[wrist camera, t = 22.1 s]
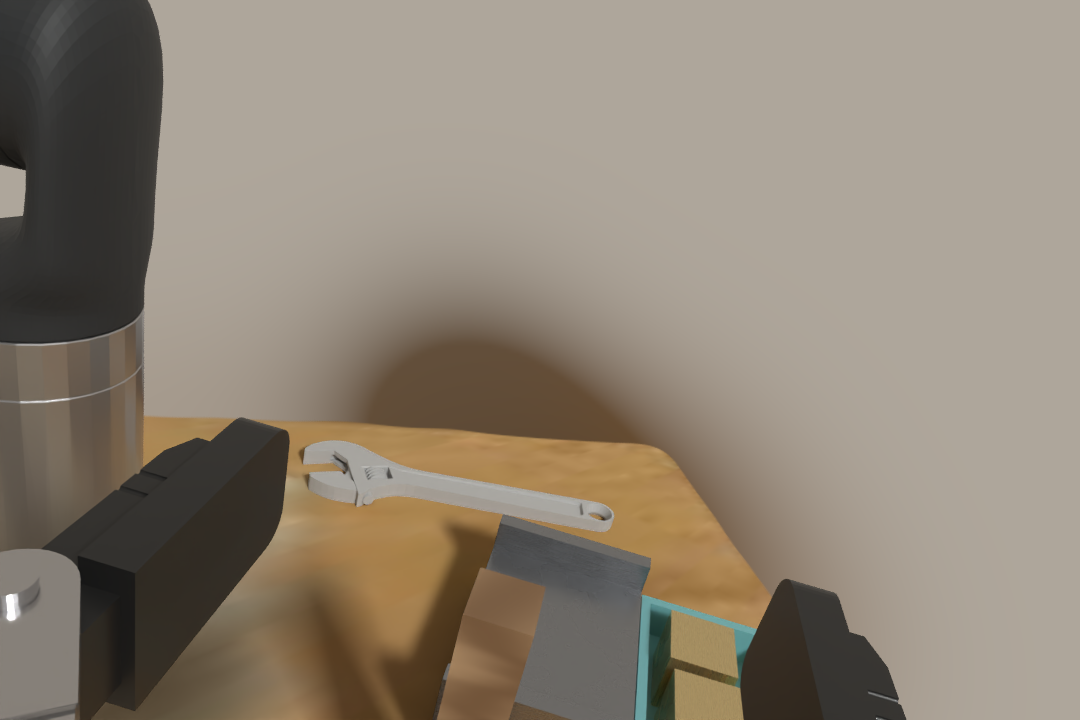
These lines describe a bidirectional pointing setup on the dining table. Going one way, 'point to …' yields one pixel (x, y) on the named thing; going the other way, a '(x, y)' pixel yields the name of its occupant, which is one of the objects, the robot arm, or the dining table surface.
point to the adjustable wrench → (439, 488)
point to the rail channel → (574, 623)
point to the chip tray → (649, 635)
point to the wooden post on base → (491, 648)
